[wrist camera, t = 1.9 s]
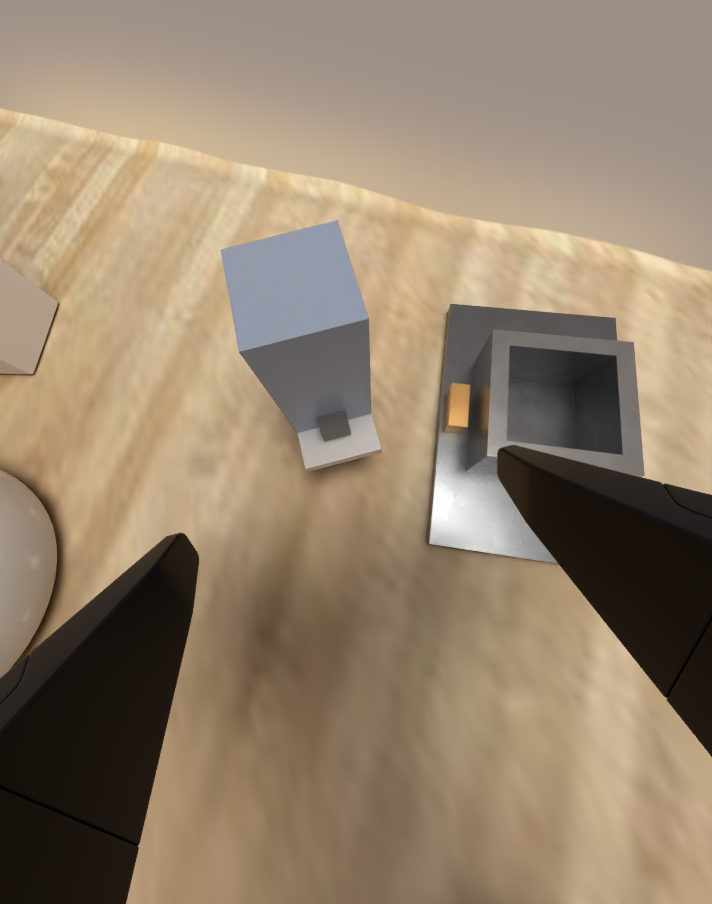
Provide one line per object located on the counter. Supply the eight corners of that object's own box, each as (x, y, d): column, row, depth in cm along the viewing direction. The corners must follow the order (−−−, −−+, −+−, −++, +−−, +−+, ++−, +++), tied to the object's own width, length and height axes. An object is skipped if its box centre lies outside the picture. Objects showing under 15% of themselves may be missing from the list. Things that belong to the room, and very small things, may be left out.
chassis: (620, 573, 20) (697, 584, 15) (426, 543, 21) (442, 544, 16) (606, 326, 25) (662, 274, 20) (447, 312, 26) (464, 260, 21)
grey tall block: (379, 466, 23) (387, 376, 10) (318, 482, 23) (250, 412, 10) (348, 358, 25) (324, 178, 13) (293, 372, 25) (212, 205, 13)
